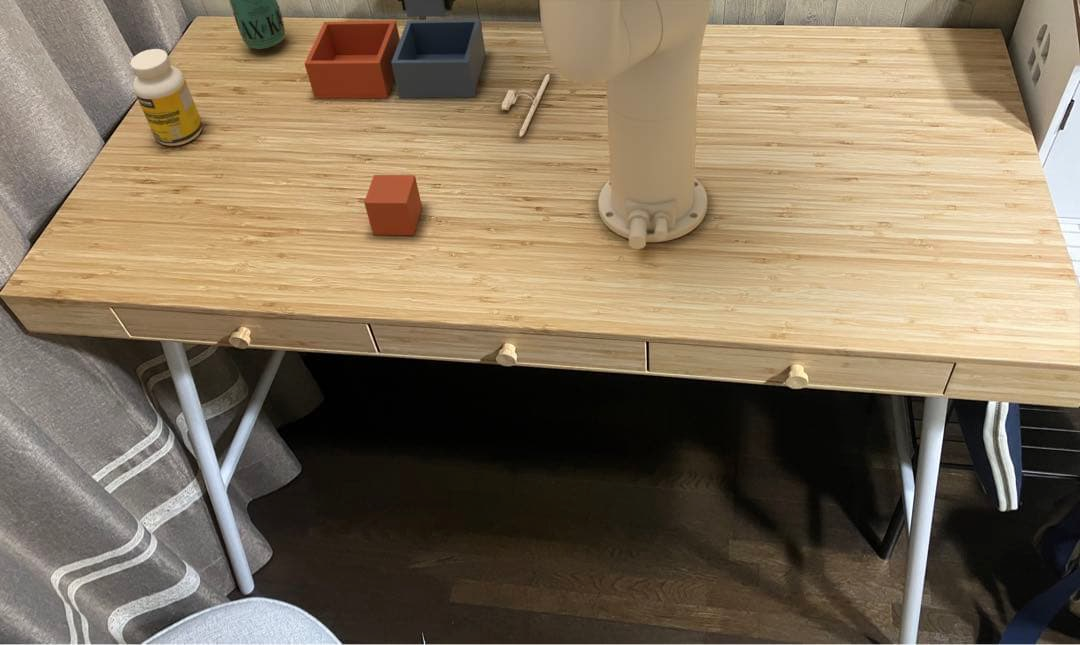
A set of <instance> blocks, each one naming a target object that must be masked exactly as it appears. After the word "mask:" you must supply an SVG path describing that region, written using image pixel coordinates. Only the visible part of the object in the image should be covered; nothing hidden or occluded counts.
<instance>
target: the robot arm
mask: <svg viewBox="0 0 1080 645" xmlns="http://www.w3.org/2000/svg"><path fill="white" fill-rule="evenodd" d="M397 1H398V2H401V6H402V11H403V12H405V11H406V7H405V2H404V0H397ZM455 1H458V0H444V2H445V8H446V9H447V11H452V10H453V6H454V3H455ZM711 4H712V0H539V15H540V26H541V33H542V39H543V43H544V46H545V50H546V52H547V54H548V57H549V59H550V61H551V63H552V65H553V66H554V68H555V69H556V70H557V71H558V72H559V74H560V75H561V76H563V78H565V79H566V80H567V81H570V82H571V83H573V84H576V85H579V86H587V87H588V86H596V85H599V84H603V83H606V88H605V89H606V107H607V108H606V109H607V110H606V112H607V130H608V132H607V133H608V148H609V149H608V154H609V174H610V176H609V177H610V178H609V180H608V181H607V182H606V183H605V184H604V186H602V188H601V191H600V192H599V195H598V198H597V199H598V201H597V205H598V206H597V207H598V213H599V217H600V219H601V221H602V222H603V224H604V225H605V226H606V227H607V228H608V229H609V230H611V231H612V232H614V233H615V234H616V235H618V236H620V237H623V238H625V239H628V245H629V247H630V248H632V249H634V250H640V249H641V250H642V249H643V248H645V247H646V245H647V243H660V242H667V241H672V240H675V239H678V238H681V237H683V236H685V235H687V234H690V232H692V231H694V230H695V229H696V228H698V226H699V225H700V224H701V223H702V222H703V220H704V218H705V216H706V214H707V211H708V202H709V201H708V194H707V191H706V189H705V187H704V186H703V184H702V183H701V181H699V180H698V179H697V178H696V175H695V174H696V150H697V149H696V147H697V118H698V116H697V115H698V114H697V113H698V95H699V94H698V93H699V72H700V62H701V53H702V52H701V51H702V46H703V41H704V37H705V33H706V29H707V25H708V21H709V16H710V13H711V12H710V10H711Z"/></svg>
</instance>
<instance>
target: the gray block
mask: <svg viewBox="0 0 1080 645" xmlns="http://www.w3.org/2000/svg"><path fill="white" fill-rule="evenodd" d="M404 2H405V7H406V16H407V18H410V17H411V18H412V17H413V18H414V17H415V18H417V17H418V18H419V17H421V18H422V17H423V18H424V17H445V16H446V14H447V11H448V10H447V9H446V8H445V2H444V0H404Z"/></svg>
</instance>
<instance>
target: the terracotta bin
mask: <svg viewBox="0 0 1080 645" xmlns="http://www.w3.org/2000/svg"><path fill="white" fill-rule="evenodd" d="M400 38H401V37H400V34H399V28H398V23H397V20H347V21H345V20H344V21H342V20H341V21H340V20H339V21H323V24H322V25H321V28H320V30H319V32H318V34H317V36H316V38H315V40H314V42H313V45H312V47H311V49H310V51H309V52H308V54H307V57H306V59H305V60H304V67H305V71H306V74H307V77H308V80H309V83H310V87H311V91H312V93H313V97H314V99H389V95H390V93H391V90H392V87H393V85H394V82H395V77H394V72H393V68H392V64H391V62H392V59H393V57H394V54H395V52H396V49H397V46H398V44H399V41H400Z"/></svg>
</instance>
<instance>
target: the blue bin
mask: <svg viewBox="0 0 1080 645" xmlns="http://www.w3.org/2000/svg"><path fill="white" fill-rule="evenodd" d="M399 38H400V41H399V44H398V46H397V49H396V52H395V54H394V57H393V59H392V62H391V64H392V68H393V72H394V77H395V79H394V82H395V85H396V89H397V94H398V98H399V99H457V98H458V99H461V98H463V99H464V98H465V99H467V98H469V99H470V98H475V95H476V92H477V87H478V85H479V80H480V78H481V77H480V76H481V72H482V70H483V66H484V62H485V58H486V46H485V42H484V41H485V40H484V33H483V27H482V21H481V19H480V18H476V19H475V18H474V19H473V18H472V19H419V20H418V19H412V20H411V19H410V20H409V19H408V20H406V22H405V25H404V28H403V30H402V33H401V36H400V37H399Z"/></svg>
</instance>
